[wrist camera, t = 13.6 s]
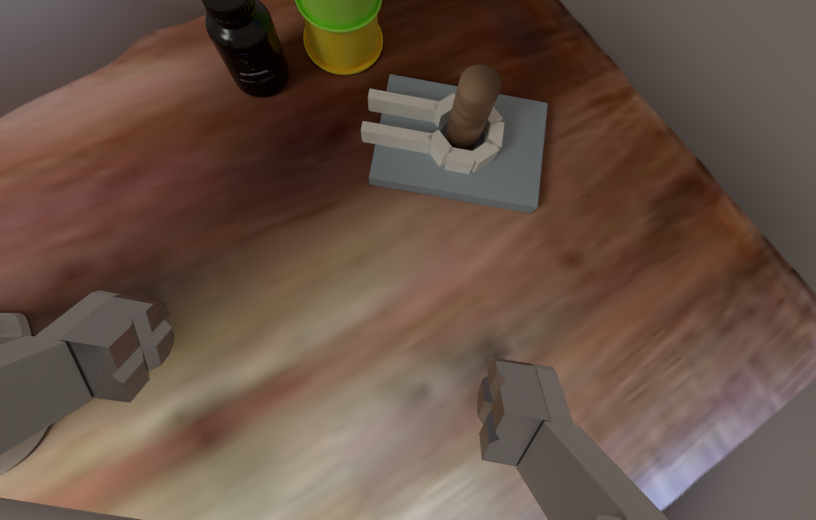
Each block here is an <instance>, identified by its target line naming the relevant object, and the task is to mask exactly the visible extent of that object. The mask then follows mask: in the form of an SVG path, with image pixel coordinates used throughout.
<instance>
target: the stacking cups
mask: <svg viewBox="0 0 816 520" xmlns="http://www.w3.org/2000/svg"><path fill="white" fill-rule="evenodd" d="M295 2H296V5H297V8H298V10H299V11H300V13H301V14H302V16H303V17H304V22H305V29H304V34H303V41H304V46H305V49H306V52H307V54H308V56H309V57H310V59H311V60H312V61H313V62H314V63H315V64H316V65H317V66H318V67H320V68H321V69H323V70H325V71H327V72H330V73H333V74H337V75H352V74H357V73H360V72H362V71H364V70H366V69H368V68H369V67H371V66H372V65H373V64H374V63H375V62H376V60H377V59H378V57H379V56H380V53H381V51H382V46H383V36H382V32H381V29H380V26H379V25H378V21H377V14H378V12H379V10H380V7H381V4H382V0H295Z"/></svg>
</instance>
